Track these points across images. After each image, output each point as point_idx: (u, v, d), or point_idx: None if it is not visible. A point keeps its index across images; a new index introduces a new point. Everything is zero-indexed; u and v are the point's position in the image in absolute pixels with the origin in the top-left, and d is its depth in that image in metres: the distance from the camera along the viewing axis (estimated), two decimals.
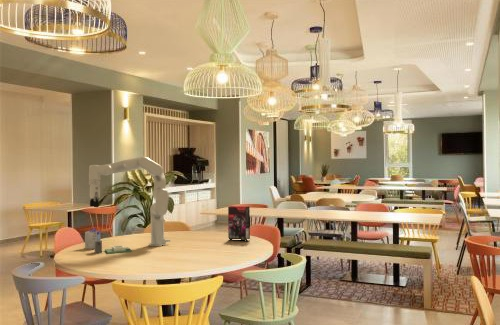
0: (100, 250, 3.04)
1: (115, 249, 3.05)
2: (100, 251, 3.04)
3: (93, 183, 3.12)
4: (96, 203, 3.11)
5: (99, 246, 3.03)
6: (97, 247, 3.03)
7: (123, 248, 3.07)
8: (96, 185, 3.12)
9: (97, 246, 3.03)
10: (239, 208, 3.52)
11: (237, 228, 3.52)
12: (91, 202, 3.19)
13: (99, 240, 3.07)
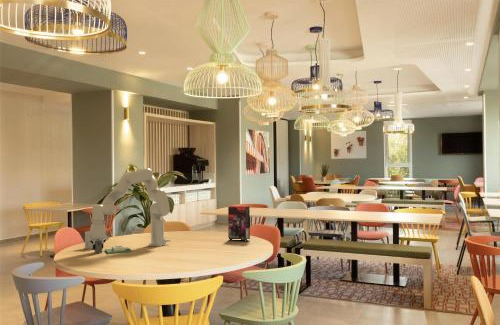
0: (100, 250, 3.04)
1: (115, 249, 3.05)
2: (100, 251, 3.04)
3: (103, 223, 3.06)
4: None
5: (99, 246, 3.03)
6: (97, 247, 3.03)
7: (123, 248, 3.07)
8: (104, 225, 3.08)
9: (97, 246, 3.03)
10: (239, 208, 3.52)
11: (237, 228, 3.52)
12: None
13: (99, 240, 3.07)
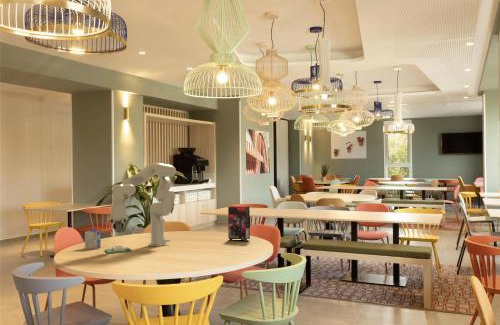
0: (120, 229, 3.08)
1: (115, 249, 3.05)
2: (120, 230, 3.08)
3: (123, 203, 3.10)
4: (122, 225, 3.11)
5: (119, 225, 3.08)
6: (117, 226, 3.07)
7: (123, 248, 3.07)
8: (124, 205, 3.12)
9: (117, 225, 3.07)
10: (239, 208, 3.52)
11: (237, 228, 3.52)
12: None
13: None
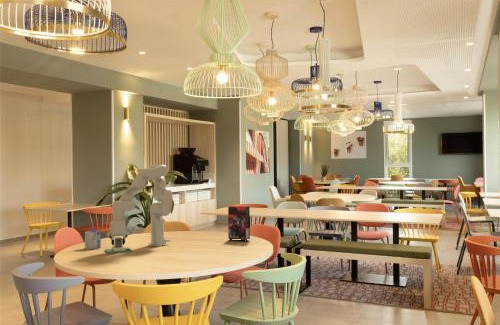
0: None
1: (115, 249, 3.05)
2: None
3: (123, 219, 3.10)
4: (124, 240, 3.12)
5: (119, 243, 3.07)
6: (117, 244, 3.07)
7: (123, 248, 3.07)
8: (124, 221, 3.12)
9: (117, 243, 3.07)
10: (239, 208, 3.52)
11: (237, 228, 3.52)
12: (113, 241, 3.08)
13: (119, 237, 3.11)
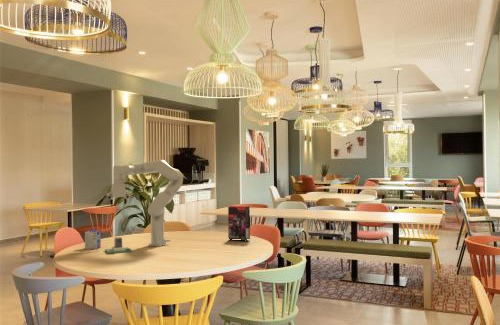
0: None
1: (115, 249, 3.05)
2: None
3: (123, 182, 3.38)
4: None
5: (119, 243, 3.07)
6: (117, 244, 3.07)
7: (123, 248, 3.07)
8: (124, 184, 3.40)
9: (117, 243, 3.07)
10: (239, 208, 3.52)
11: (237, 228, 3.52)
12: (112, 201, 3.35)
13: (119, 237, 3.11)
